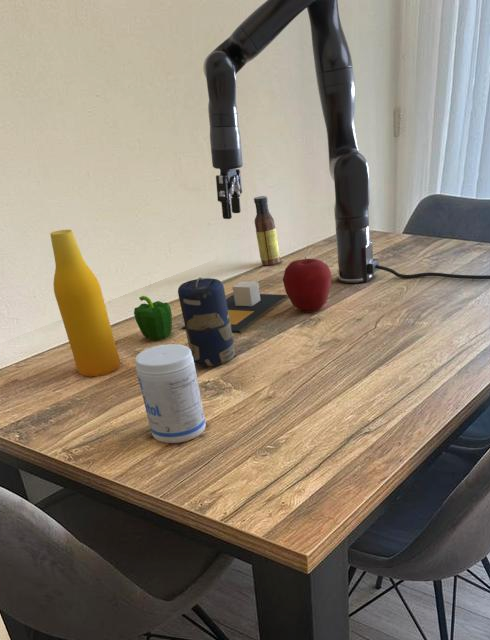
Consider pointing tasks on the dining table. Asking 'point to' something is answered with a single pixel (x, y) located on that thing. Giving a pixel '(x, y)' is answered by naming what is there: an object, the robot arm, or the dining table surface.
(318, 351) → the dining table surface
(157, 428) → the supplement tub
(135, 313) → the bell pepper
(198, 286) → the canister
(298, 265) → the apple
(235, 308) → the mat
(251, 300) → the matte off-white cube
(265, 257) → the sauce bottle
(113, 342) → the beer bottle
